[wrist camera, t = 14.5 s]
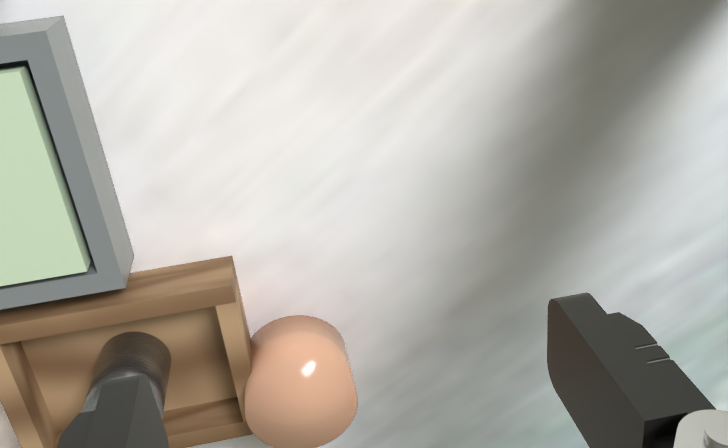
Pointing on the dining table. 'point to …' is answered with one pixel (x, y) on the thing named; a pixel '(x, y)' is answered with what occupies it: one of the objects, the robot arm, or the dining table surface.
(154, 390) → the cell
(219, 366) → the brown wooden tray
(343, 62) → the dining table surface
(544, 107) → the dining table surface
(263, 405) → the peach dome knob
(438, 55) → the dining table surface
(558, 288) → the dining table surface
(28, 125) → the pale green panel
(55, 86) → the checker base
